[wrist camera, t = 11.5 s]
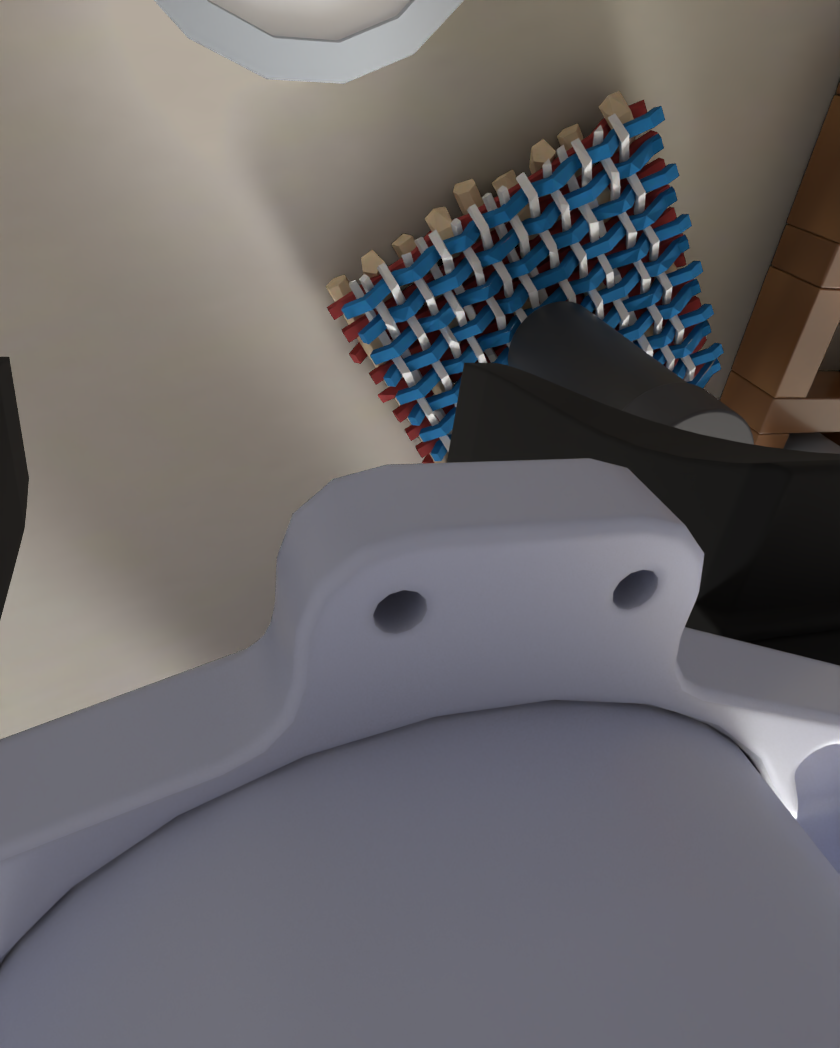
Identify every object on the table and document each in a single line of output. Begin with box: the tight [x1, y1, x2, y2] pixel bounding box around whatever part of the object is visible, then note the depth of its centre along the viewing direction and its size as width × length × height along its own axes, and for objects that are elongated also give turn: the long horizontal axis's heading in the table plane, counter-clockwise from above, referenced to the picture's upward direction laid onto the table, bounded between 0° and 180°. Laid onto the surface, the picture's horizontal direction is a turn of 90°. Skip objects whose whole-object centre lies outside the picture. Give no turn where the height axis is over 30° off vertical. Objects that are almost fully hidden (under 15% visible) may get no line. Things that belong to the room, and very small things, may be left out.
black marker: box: [508, 301, 754, 445], centre depth 20 cm, size 3×3×8 cm
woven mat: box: [326, 91, 724, 463], centre depth 24 cm, size 10×11×2 cm
